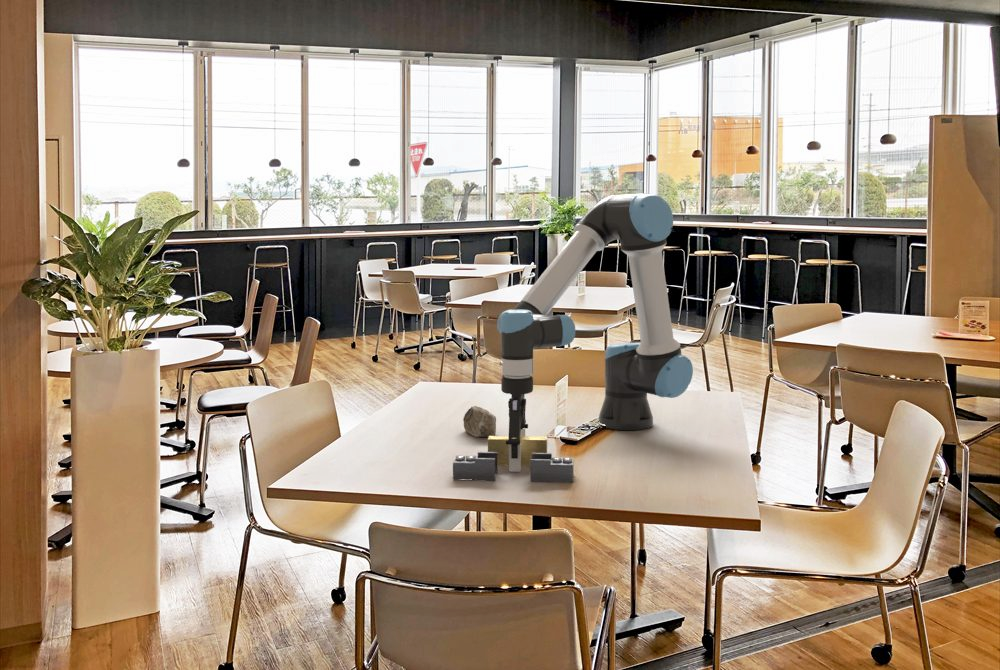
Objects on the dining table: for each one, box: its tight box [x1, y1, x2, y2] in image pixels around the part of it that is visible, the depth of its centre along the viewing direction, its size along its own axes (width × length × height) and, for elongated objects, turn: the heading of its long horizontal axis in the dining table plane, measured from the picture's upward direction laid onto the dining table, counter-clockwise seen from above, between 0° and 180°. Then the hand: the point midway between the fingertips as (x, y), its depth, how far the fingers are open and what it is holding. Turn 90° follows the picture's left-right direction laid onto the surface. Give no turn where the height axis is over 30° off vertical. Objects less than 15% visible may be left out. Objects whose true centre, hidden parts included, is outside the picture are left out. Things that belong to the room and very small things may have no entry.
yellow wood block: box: [487, 435, 548, 467], centre depth 213 cm, size 14×3×6 cm, turn 84°
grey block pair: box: [452, 451, 575, 484], centre depth 203 cm, size 27×6×5 cm, turn 84°
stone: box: [462, 405, 497, 438], centre depth 242 cm, size 7×12×7 cm, turn 33°
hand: (517, 463), depth 214 cm, fingers open, 13 cm apart
